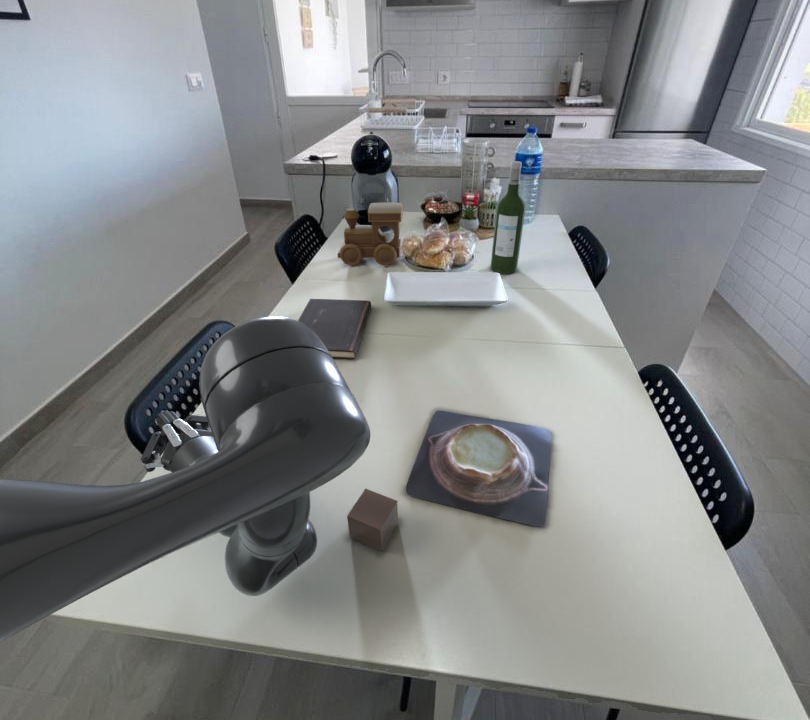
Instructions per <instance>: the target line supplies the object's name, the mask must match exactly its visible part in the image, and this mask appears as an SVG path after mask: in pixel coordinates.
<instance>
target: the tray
mask: <svg viewBox="0 0 810 720" xmlns="http://www.w3.org/2000/svg"><path fill="white" fill-rule="evenodd" d="M385 279H386V280H385V285H384V286H385V287H384V292H383V302H385V303H387V304H393V305H396V306H397V307H398V306H399V307H492V306H496V305H501V304H506V303H507V302H508V299H509V298H508V296H507V295H508V294H507V293H506V290H505V286H504V283H503V279H502V276H501V274H500V273H496V272H494V271H389V272H388V273H387V274H386V278H385Z"/></svg>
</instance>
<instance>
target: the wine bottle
mask: <svg viewBox="0 0 810 720" xmlns="http://www.w3.org/2000/svg"><path fill="white" fill-rule="evenodd" d="M522 165H523V164H522V161H518V160H512V161H511V162H510V172H509V177H508V184H507V191H506V193H505V194H504V195H503V196H502V197H501V198H500V199H499V200H498V202H497V204H496V208H495V220H494V227H493V229H494V230H493V240H492V247H491V248H492V249H491V258H490V269H491V271H492V272H495V273H499V274H500V275H501V274H502V275H509V274H514V273H516V271H517V270H518V264H519V258H520V251H521V244H522V236H523V229H524V223H525V217H526V216H525V215H526V208H527V206H526V202H525V200H524V199H523V197H522V196H521V195H520V181H521V171H522Z"/></svg>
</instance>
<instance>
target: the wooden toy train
mask: <svg viewBox="0 0 810 720" xmlns="http://www.w3.org/2000/svg"><path fill="white" fill-rule="evenodd" d="M403 216H404V208H403V203H402V202H389V201H387V202H385V201H384V202H371V203H370V204H369V206H368V209H367V218H368V219H367V220H368V222H367V223H371V225H370V224H357V223H358V220H359V217H360V214H359V212H358V211H357V210H356V209H355V208H354V207H349V208H347V209H346V210H345V212H344V214H343V218H344V220H345V222H346V224H347V225H345V228H344V231H343V239H344V240H343V243H342V244H340V247H339V249H338V251H337V258H338V259H340V260H341V261H342V263H344V264H345V265H346V266H351V267H353V266H357V265H359V264H360V263H362V260H363V259H374V260H375V262H376V263H377V264H378V265H380V266H383V267H386V266H391V265H392V264H394V263H395V262H396V260H397V259H399V258H400V257H401V251H402V250H401V249H402V244H401V243H402V241H401V238H400V235H401V223H402V220H403ZM382 227H388V228H390V229H391V230H392V232H391V233H387V232H386V233H384V232H383V231H382V230H381V228H382Z"/></svg>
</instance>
